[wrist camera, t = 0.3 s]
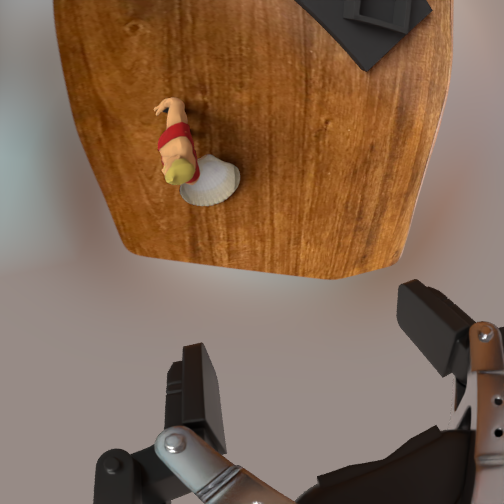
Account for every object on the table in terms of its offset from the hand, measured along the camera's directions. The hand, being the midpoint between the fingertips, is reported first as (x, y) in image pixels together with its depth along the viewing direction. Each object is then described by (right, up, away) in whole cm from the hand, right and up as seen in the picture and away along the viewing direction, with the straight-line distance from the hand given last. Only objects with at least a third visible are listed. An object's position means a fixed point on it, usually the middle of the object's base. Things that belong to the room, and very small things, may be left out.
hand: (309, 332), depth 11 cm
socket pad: (+12, +35, +15) cm, 40 cm away
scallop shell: (-8, +13, +29) cm, 33 cm away
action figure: (-11, +19, +23) cm, 32 cm away
